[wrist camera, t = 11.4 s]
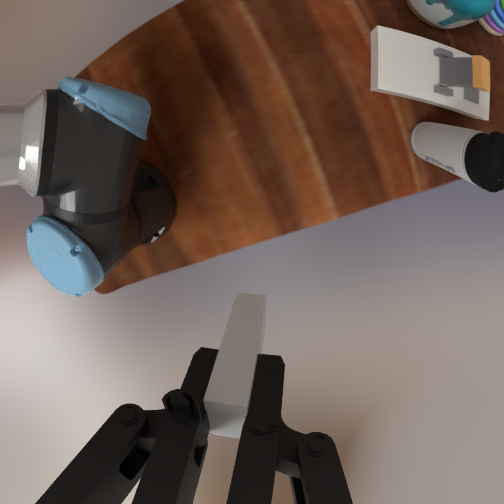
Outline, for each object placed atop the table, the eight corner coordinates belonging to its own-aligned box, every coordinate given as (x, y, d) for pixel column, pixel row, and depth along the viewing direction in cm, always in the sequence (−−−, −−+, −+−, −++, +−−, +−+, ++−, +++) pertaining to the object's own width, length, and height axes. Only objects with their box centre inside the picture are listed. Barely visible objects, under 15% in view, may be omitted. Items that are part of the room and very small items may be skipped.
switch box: (370, 90, 35) (381, 87, 30) (370, 32, 31) (381, 21, 25) (475, 118, 33) (495, 121, 28) (476, 65, 28) (495, 63, 23)
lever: (435, 83, 29) (481, 87, 21) (435, 56, 27) (481, 55, 19) (444, 87, 29) (490, 92, 21) (444, 60, 27) (489, 61, 19)
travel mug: (439, 119, 35) (519, 134, 17) (442, 158, 38) (518, 195, 20) (406, 119, 36) (478, 131, 18) (410, 160, 39) (479, 198, 21)
